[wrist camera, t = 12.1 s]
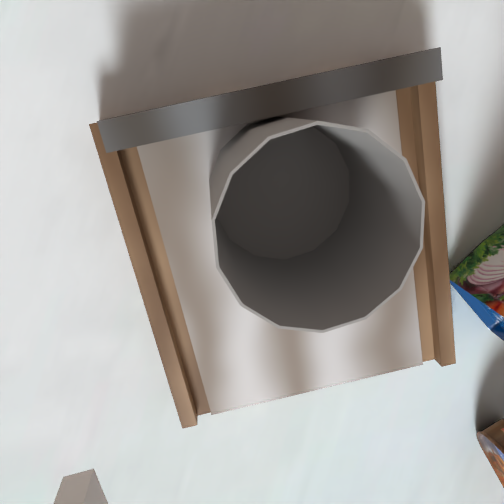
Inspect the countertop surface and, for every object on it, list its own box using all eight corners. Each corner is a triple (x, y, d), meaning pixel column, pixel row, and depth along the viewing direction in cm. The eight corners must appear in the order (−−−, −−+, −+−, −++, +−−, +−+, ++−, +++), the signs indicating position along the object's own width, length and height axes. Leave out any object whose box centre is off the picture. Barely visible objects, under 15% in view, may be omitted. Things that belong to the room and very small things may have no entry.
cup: (370, 215, 28) (455, 270, 19) (254, 281, 29) (279, 366, 19) (308, 88, 26) (370, 76, 16) (182, 163, 26) (169, 194, 17)
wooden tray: (184, 405, 33) (180, 461, 28) (99, 122, 27) (73, 126, 21) (437, 345, 33) (481, 388, 28) (413, 55, 27) (462, 42, 22)
